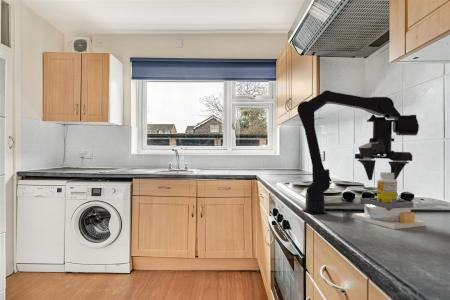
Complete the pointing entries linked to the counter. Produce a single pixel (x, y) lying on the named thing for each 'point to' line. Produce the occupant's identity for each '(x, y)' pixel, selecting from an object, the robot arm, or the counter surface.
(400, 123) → the robot arm
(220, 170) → the counter surface
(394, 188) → the supplement bottle
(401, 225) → the mount plate
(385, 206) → the hollow square frame
